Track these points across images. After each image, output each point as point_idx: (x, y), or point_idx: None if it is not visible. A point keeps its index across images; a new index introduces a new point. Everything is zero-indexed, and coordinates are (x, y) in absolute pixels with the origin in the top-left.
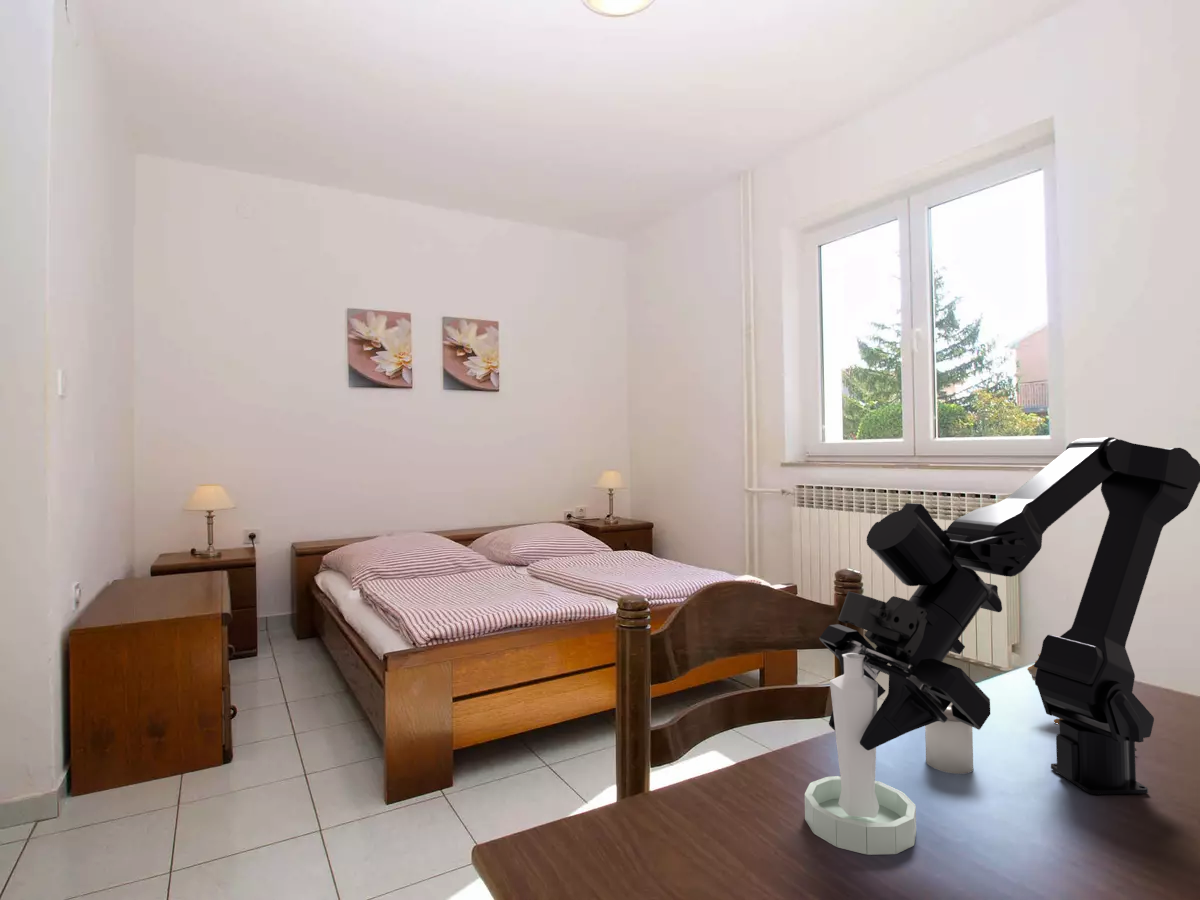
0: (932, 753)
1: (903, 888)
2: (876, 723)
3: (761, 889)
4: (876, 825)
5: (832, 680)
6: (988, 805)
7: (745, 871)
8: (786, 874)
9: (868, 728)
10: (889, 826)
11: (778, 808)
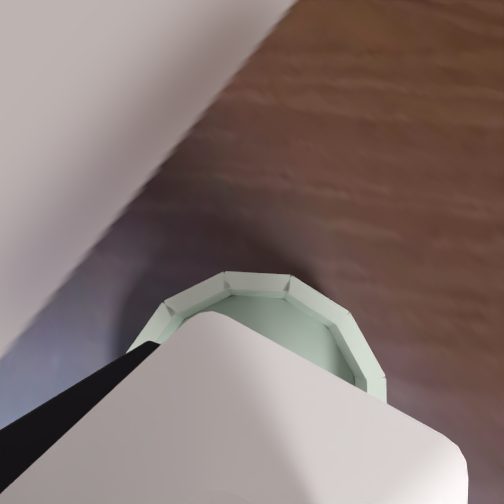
0: None
1: (79, 269)
2: (56, 399)
3: (227, 85)
4: (152, 327)
5: (423, 443)
6: None
7: (276, 98)
8: (229, 143)
9: (116, 384)
10: (130, 348)
11: (404, 307)
